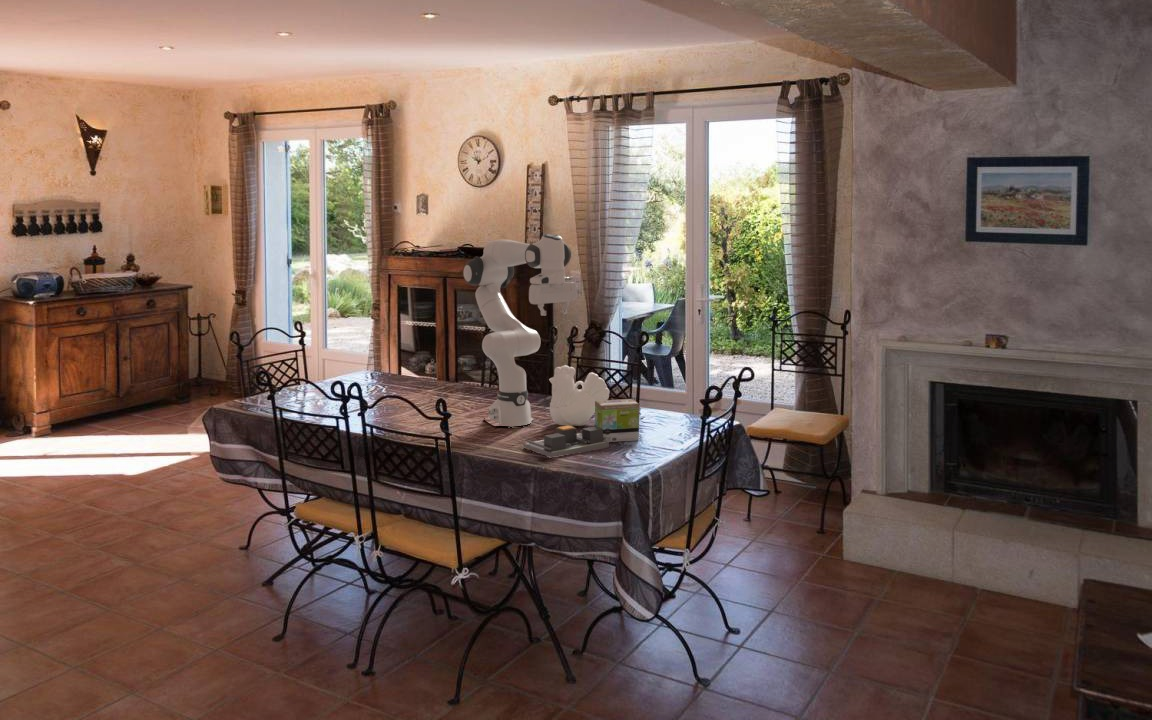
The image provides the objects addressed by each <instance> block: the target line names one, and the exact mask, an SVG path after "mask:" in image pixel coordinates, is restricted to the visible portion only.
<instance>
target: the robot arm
mask: <svg viewBox="0 0 1152 720" xmlns="http://www.w3.org/2000/svg"><path fill="white" fill-rule="evenodd" d="M482 252H483V254H482V256H478V255H477V256H474V257H473V259H469V260H468V261H467V262H466V263H465V265H464V266H463V268H462V269H463V271H462V276H463V279H464V281H465V283H467V284H468V285H469V286H478V288H477V289H476V291H475V294H474V295H475V299H476V304H477V306H478V309H479V311H480V313H481V315H482V317H483V319H484V321H485V323H486V325H487V327H488V328H489V329H490V330H492V331H493V332H491V333H488V334H485V336H484V337H483V339H482V343H481V349H482V351H483V353H484V354H485V356H486V357H487V358H489V359H490V360H491V361H492V362H493V363H494V365H495V368H496V370H497V373H498V389H499V390H497V391H496V394H497V396H496V397H497V398H496V400H495V401H494V402H493V403H492V404H491V405H489V407H488V410H487V411H488V412H487V413H488V417H489V418H490V419H492V420H493V421H495V422H497V423H499V425H510V426H511V425H512V426H521V425H527V424H530V423H531V424H532V422H531V421H532V420H534V418H533V417H532V409H531V404H530V401H529V400H528V399H529V398H528V396H529V392H528V389H527V373H526V371H525V369H524V368H523V367H521V366H520V365H518V364H517V363H516V361H515V357H522V356H523V357H525V356H529V355H531V354H534V353H536V352H538V351H539V349H540V347H541V343H542V342H541V337H540V334H539V332H538V331H537V330H535V329H533V328H531V327H528V326H527V325H525V324H523V323H522V322H521V321H520V320H519V319H517V318H516V316H515V315H514V314H513V312H512V311H511V309H510V308H509V306H508V304H507V302H506V300H505V299H504V297H503V294H502V292H501V289H505V288H507V286H508V284H509V283H510V282H511V281H512V279H513V277H514V275H515V268H514V267H516V266H520V265H524V264H527V265H528V267H530V268H534V269H540V270H541V272H540V273H538V274H536V275H534V276H533V277H530V278H529V283H530V285H529V289H528V301H529V303H530V304H531V305H537V308H538V309H539V310H540V316H547V310H545V309H544V307H545V304H555V303H562V304H563V308H561V310H560V313H561V314H563V315H566V314H567V313H568V309H569V306H570V302H575V301H577V300H578V290H577V280H576V278H575V277H573V276H566V269H565V267H566V266H567V265H568V264H569V263H570V261H571V259H572V251H571V248H570V247H569V246H568V244H567V243H566V242H565V241H564V239H563V237H562V236H560V235H558V234H551V233H550V234H549V233H548V234H544V235H542V237H541V238H540V240H538V241H536V242H534V243H526V242H521V241H516V240H512V239H507V238H505V239H503V238H502V239H501V238H500V239H495V240H491V241H489V242H487V243H486V244H485V246H484V248H483V251H482ZM531 424H530V425H531Z"/></svg>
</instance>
